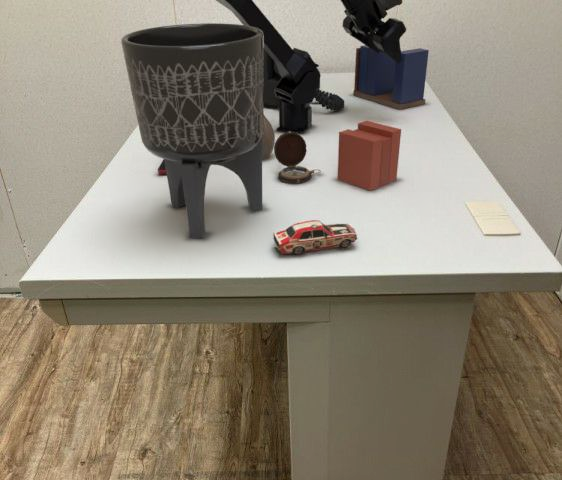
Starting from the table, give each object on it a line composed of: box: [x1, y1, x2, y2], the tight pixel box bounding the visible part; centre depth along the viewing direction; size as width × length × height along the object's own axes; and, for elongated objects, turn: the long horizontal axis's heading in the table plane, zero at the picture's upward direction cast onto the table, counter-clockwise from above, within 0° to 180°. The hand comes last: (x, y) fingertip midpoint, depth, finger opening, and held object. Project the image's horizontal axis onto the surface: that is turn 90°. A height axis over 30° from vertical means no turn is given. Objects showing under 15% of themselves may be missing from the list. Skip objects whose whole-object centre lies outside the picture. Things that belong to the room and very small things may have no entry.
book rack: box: [352, 47, 426, 110], centre depth 152 cm, size 8×18×11 cm, turn 32°
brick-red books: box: [337, 120, 402, 192], centre depth 108 cm, size 8×7×9 cm
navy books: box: [358, 44, 395, 96], centre depth 155 cm, size 8×6×11 cm
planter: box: [120, 22, 265, 239], centre depth 91 cm, size 20×20×26 cm
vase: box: [262, 114, 276, 160], centre depth 120 cm, size 7×7×9 cm
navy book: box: [392, 48, 430, 104], centre depth 147 cm, size 8×3×11 cm, turn 122°
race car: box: [272, 219, 358, 256], centre depth 88 cm, size 5×12×5 cm, turn 99°
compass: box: [273, 131, 322, 184], centre depth 111 cm, size 8×8×7 cm
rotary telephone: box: [264, 49, 345, 112], centre depth 153 cm, size 33×22×15 cm, turn 58°
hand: (389, 56), depth 139 cm, fingers open, 9 cm apart
